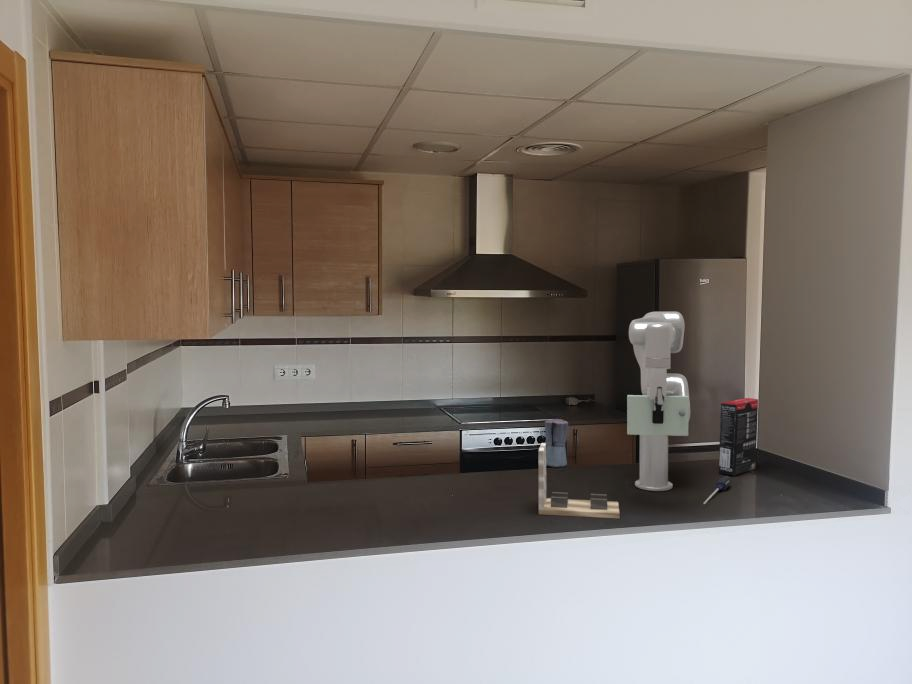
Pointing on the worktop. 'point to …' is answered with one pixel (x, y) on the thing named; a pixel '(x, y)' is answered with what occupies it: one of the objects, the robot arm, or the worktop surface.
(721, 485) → the screwdriver
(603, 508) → the hinge base
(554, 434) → the moka pot
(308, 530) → the worktop surface
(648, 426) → the door
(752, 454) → the graphics card box
